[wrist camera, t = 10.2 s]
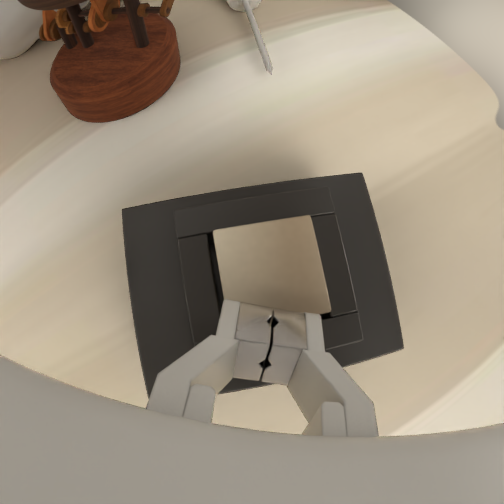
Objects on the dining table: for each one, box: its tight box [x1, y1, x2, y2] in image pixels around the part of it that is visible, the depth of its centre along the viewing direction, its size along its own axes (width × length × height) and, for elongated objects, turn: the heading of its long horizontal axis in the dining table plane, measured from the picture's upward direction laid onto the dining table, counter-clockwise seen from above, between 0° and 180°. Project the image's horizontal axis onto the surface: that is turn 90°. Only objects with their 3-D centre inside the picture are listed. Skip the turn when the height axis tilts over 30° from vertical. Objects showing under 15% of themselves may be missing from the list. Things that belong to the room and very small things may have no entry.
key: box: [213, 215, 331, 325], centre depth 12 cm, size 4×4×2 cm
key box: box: [122, 173, 404, 399], centre depth 16 cm, size 12×9×7 cm
